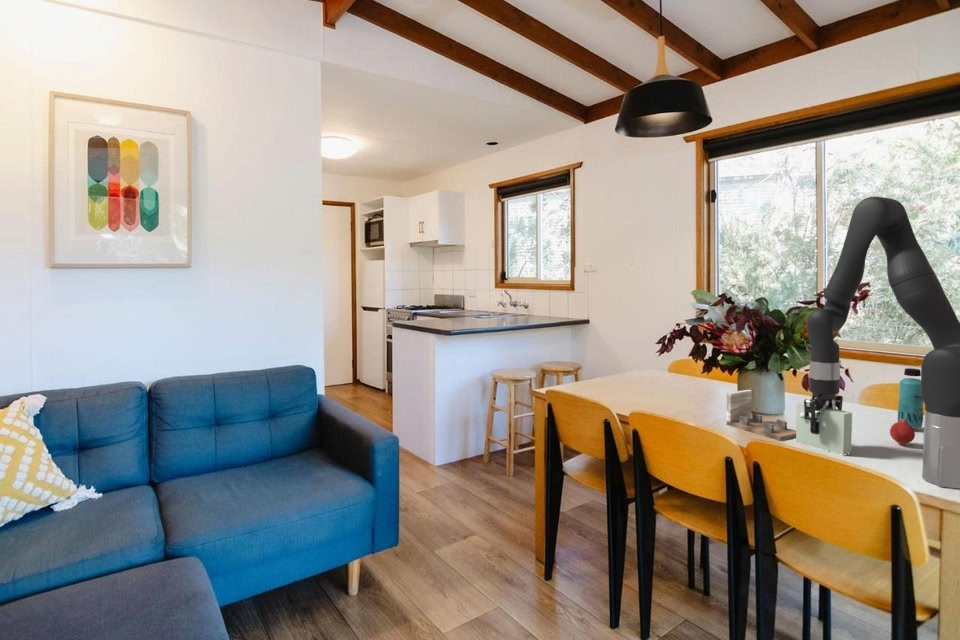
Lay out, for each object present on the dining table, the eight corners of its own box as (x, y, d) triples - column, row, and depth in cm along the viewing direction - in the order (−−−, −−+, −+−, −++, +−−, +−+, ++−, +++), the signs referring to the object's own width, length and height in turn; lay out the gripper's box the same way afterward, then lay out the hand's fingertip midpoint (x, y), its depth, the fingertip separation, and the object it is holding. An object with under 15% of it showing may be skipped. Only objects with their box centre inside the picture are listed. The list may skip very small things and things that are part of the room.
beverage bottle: (892, 428, 169) (894, 368, 168) (904, 425, 172) (907, 366, 170) (915, 433, 163) (917, 371, 161) (927, 430, 166) (930, 369, 164)
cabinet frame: (801, 436, 164) (802, 401, 163) (779, 440, 160) (780, 405, 159) (747, 420, 182) (747, 389, 181) (726, 424, 178) (726, 392, 177)
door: (850, 453, 147) (852, 412, 146) (840, 456, 145) (841, 414, 144) (803, 440, 160) (804, 402, 159) (793, 442, 158) (794, 404, 157)
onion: (889, 440, 157) (890, 415, 156) (914, 444, 153) (915, 417, 153) (889, 445, 152) (890, 419, 152) (914, 449, 149) (915, 422, 148)
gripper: (827, 372, 157) (826, 425, 159) (795, 376, 152) (794, 432, 153) (853, 376, 150) (851, 432, 152) (820, 381, 145) (819, 439, 146)
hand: (822, 431), depth 152 cm, fingers open, 6 cm apart
